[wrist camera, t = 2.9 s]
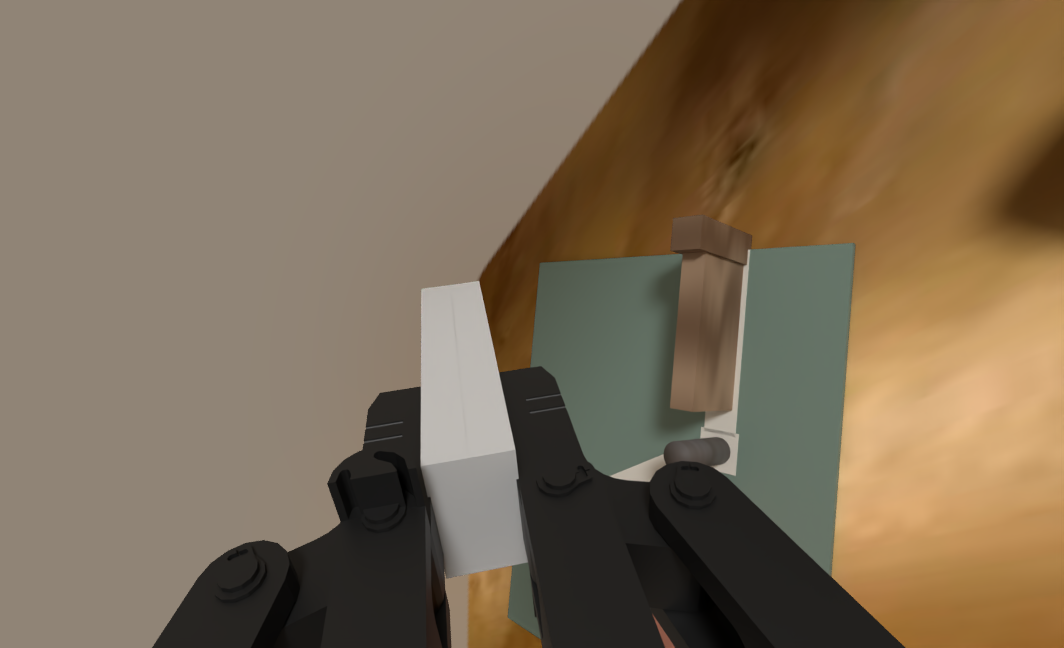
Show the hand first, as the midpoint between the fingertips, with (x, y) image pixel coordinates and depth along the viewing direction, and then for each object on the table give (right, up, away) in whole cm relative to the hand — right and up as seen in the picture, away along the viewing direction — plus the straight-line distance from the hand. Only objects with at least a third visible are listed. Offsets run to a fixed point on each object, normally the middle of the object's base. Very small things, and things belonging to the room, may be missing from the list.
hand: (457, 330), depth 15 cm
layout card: (+10, -10, +22) cm, 26 cm away
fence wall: (+14, -1, +18) cm, 23 cm away
